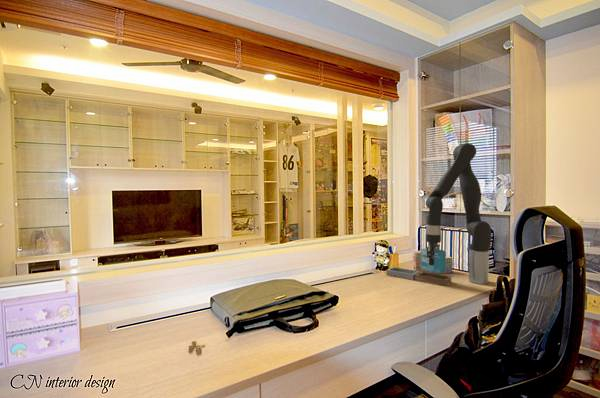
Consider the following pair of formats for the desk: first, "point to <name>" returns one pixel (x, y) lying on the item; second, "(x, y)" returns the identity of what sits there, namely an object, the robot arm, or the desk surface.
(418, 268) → the stack of blocks
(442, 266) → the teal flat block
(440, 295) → the desk surface
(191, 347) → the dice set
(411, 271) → the grey bin
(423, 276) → the walnut bin
